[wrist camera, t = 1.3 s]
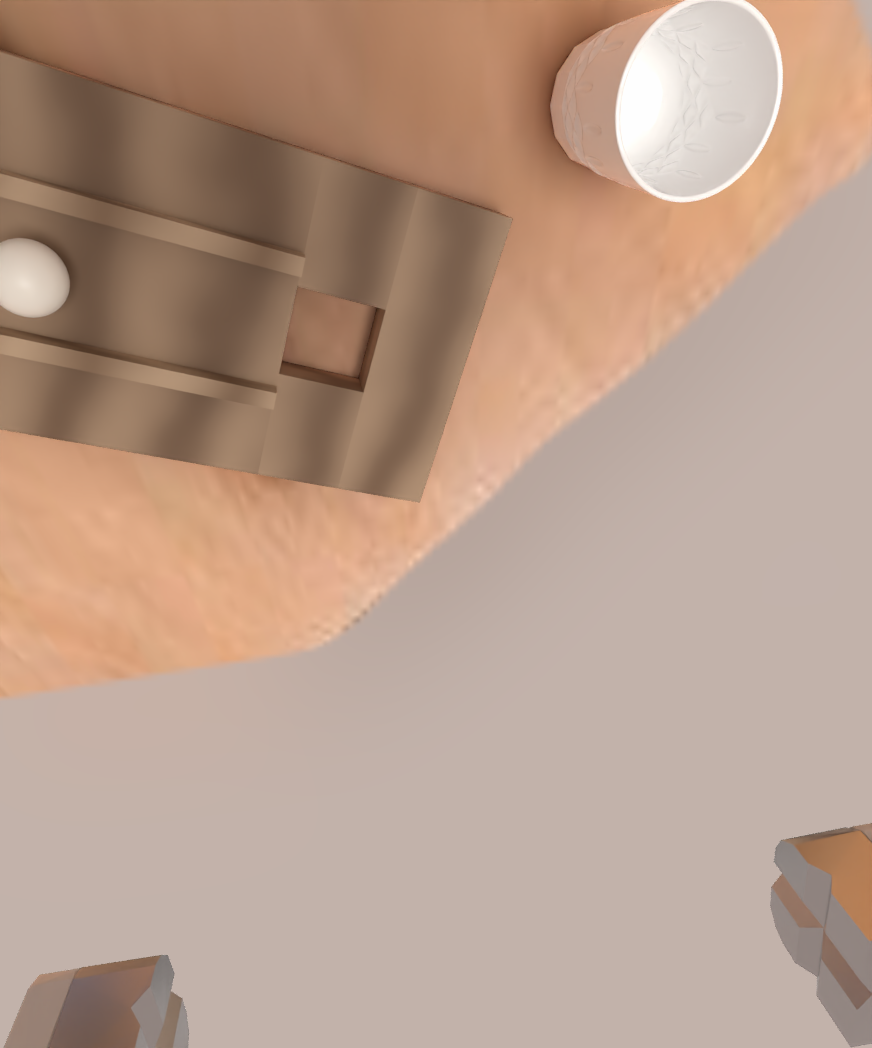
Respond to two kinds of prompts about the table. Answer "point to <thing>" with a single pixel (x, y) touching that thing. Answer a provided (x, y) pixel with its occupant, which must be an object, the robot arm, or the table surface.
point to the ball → (31, 278)
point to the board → (228, 290)
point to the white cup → (672, 98)
